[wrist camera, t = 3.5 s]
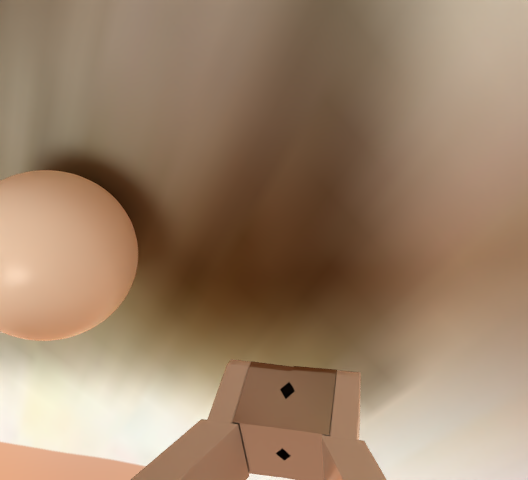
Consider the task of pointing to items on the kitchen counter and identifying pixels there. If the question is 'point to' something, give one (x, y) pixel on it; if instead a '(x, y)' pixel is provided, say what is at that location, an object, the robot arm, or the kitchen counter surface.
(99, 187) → the cue ball
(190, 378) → the kitchen counter surface
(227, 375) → the robot arm
